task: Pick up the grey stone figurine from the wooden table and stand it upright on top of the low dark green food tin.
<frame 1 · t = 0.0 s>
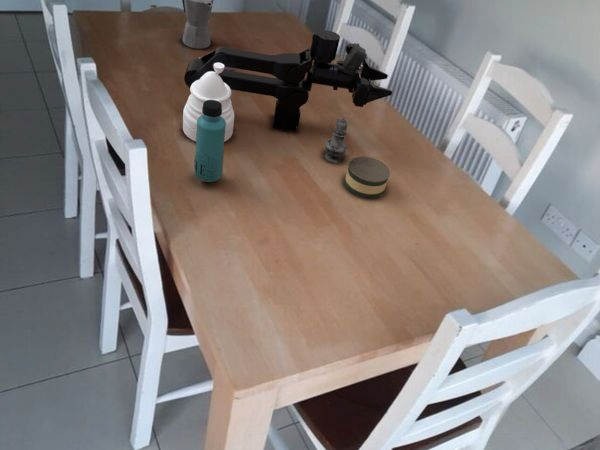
hand: (389, 84, 146), 16 cm above the table, tool horizontal, fingers open, 9 cm apart
tin: (364, 185, 138), on the table
honey pot: (207, 129, 145), on the table, touching arm
beverage bottle: (207, 180, 130), on the table
grey stone figurine: (333, 157, 146), on the table
coffeepot: (194, 42, 184), on the table
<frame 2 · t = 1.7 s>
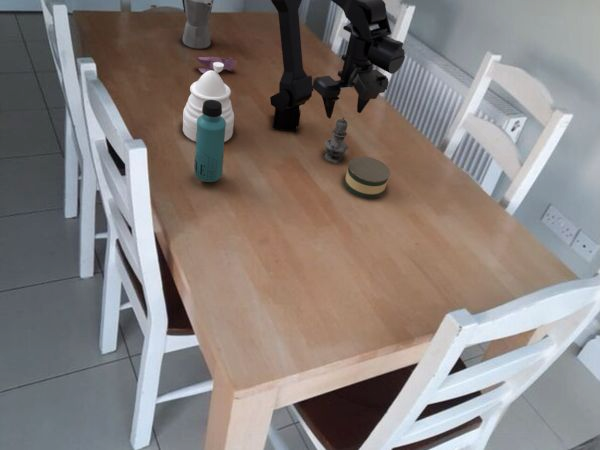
hand: (343, 114, 138), 13 cm above the table, tool pointing down, fingers open, 9 cm apart
honey pot: (207, 131, 145), on the table
everything else where it was.
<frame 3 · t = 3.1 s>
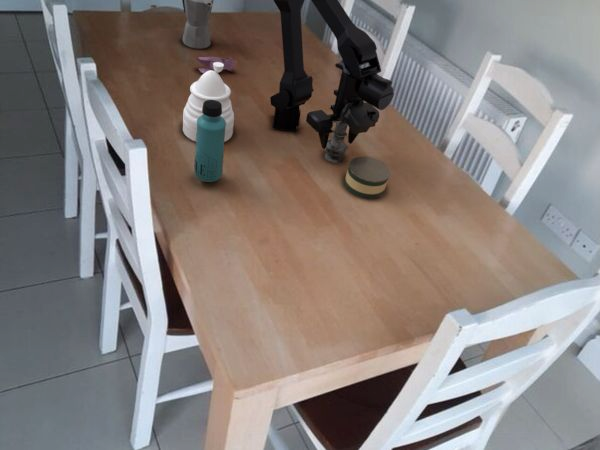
hand: (336, 145, 143), 4 cm above the table, tool pointing down, fingers closed on grey stone figurine, 8 cm apart
grey stone figurine: (333, 157, 146), on the table, touching gripper
everything else where it was.
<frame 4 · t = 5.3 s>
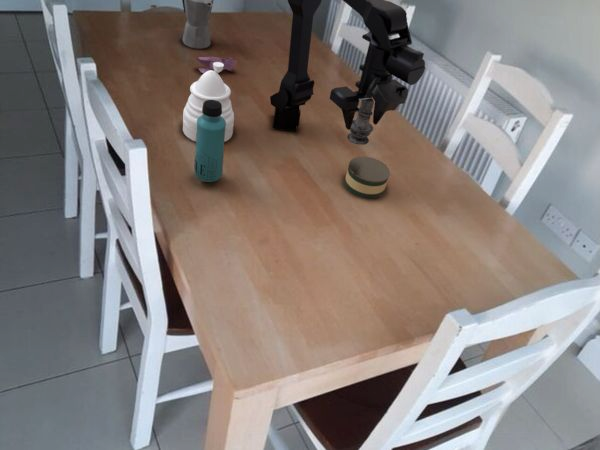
hand: (361, 126, 133), 13 cm above the table, tool pointing down, fingers closed on grey stone figurine, 8 cm apart
grey stone figurine: (357, 139, 136), point 10 cm above the table, touching gripper
everything else where it was.
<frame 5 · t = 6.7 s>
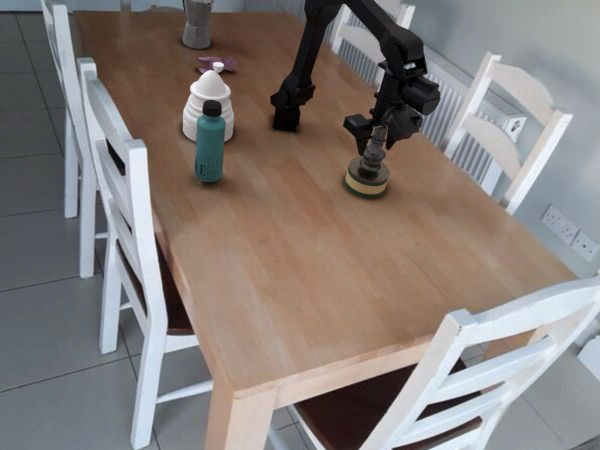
hand: (373, 152, 132), 10 cm above the table, tool pointing down, fingers closed on grey stone figurine, 8 cm apart
grey stone figurine: (370, 165, 134), point 6 cm above the table, touching gripper
everything else where it was.
when the fingers open (9 cm above the table, at t = 7.9 s): grey stone figurine stays where it is, resting on tin.
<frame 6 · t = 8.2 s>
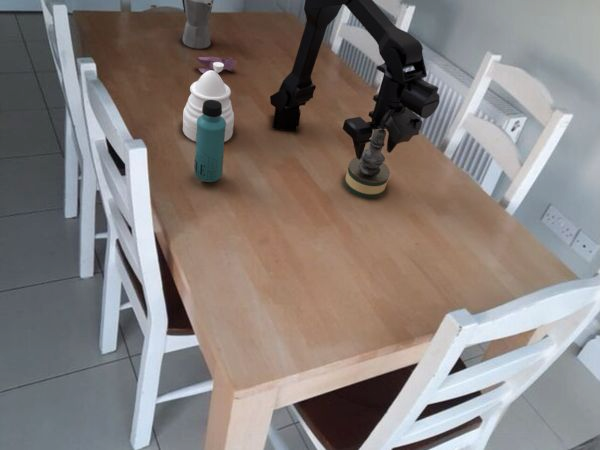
hand: (373, 155, 132), 9 cm above the table, tool pointing down, fingers open, 9 cm apart
grey stone figurine: (369, 169, 135), point 5 cm above the table, touching tin
everything else where it was.
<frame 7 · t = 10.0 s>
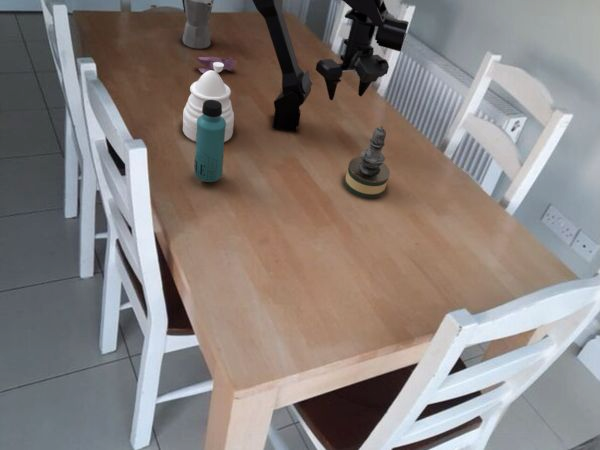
hand: (345, 97, 144), 13 cm above the table, tool pointing down, fingers open, 9 cm apart
nothing on the table moved.
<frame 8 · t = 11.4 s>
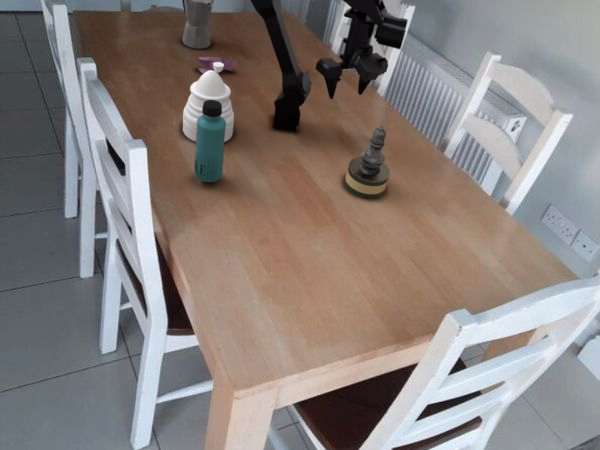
hand: (345, 96, 144), 13 cm above the table, tool pointing down, fingers open, 9 cm apart
nothing on the table moved.
at the end: grey stone figurine 0.1 cm off-centre on the tin, point 5.0 cm above the tin's base; grey stone figurine tilted 0°; the gripper is holding nothing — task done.
